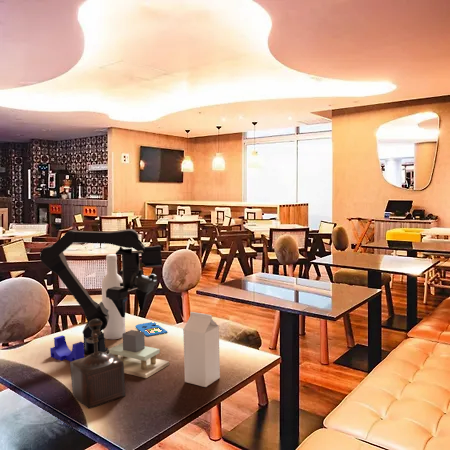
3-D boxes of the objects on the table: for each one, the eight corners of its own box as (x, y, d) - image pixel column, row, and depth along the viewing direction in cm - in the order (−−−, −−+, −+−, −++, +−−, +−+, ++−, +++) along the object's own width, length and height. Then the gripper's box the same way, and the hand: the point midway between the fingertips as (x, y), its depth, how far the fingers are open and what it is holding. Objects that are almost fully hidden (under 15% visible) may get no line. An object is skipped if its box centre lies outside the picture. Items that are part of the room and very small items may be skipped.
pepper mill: (128, 395, 118) (126, 327, 116) (88, 409, 111) (84, 337, 109) (101, 377, 129) (99, 315, 128) (63, 389, 122) (60, 324, 121)
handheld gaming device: (153, 321, 181) (167, 330, 168) (153, 323, 181) (168, 333, 168) (133, 324, 177) (146, 334, 164) (133, 327, 177) (146, 337, 164)
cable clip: (50, 357, 146) (49, 339, 146) (63, 353, 150) (62, 335, 149) (71, 365, 139) (70, 346, 138) (84, 361, 142) (83, 342, 142)
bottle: (116, 340, 160) (112, 256, 158) (98, 338, 164) (95, 255, 161) (130, 334, 167) (127, 253, 165) (113, 331, 171) (109, 252, 168)
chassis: (99, 367, 137) (98, 354, 137) (124, 354, 146) (123, 342, 146) (146, 378, 128) (145, 364, 128) (169, 364, 138) (168, 351, 137)
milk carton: (205, 388, 121) (204, 318, 120) (184, 382, 125) (182, 315, 123) (220, 378, 127) (218, 312, 126) (199, 373, 131) (197, 308, 129)
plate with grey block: (144, 360, 131) (144, 339, 130) (108, 353, 137) (107, 333, 137) (159, 352, 137) (159, 332, 136) (124, 345, 143) (123, 326, 143)
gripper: (130, 274, 138) (132, 324, 139) (167, 264, 154) (168, 309, 155) (103, 271, 143) (105, 319, 145) (141, 262, 159) (143, 305, 161)
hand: (132, 313), depth 151 cm, fingers open, 9 cm apart
